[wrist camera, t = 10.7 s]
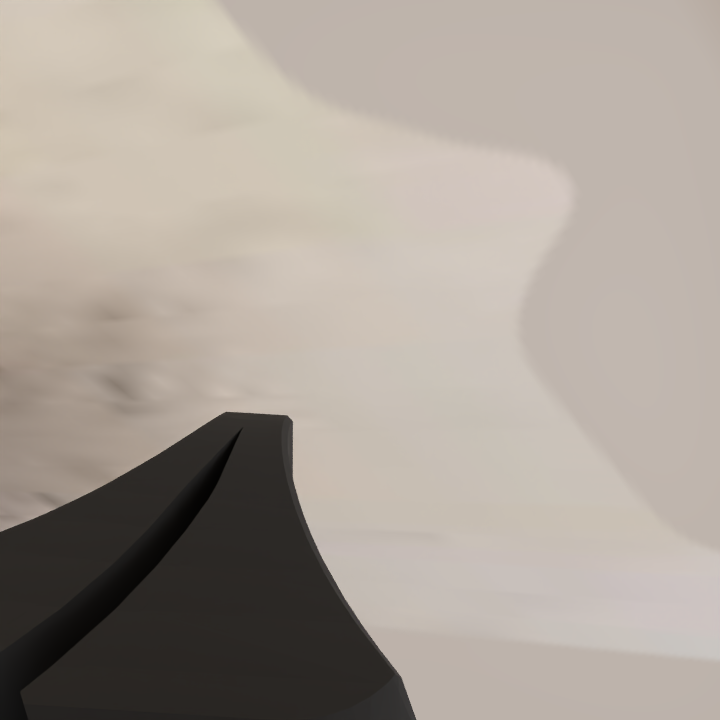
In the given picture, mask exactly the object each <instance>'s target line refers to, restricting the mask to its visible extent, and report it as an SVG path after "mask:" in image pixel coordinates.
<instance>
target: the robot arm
mask: <svg viewBox="0 0 720 720" xmlns="http://www.w3.org/2000/svg"><path fill="white" fill-rule="evenodd" d="M0 720H416V718H415V715H414V712H413V710H412V706H411V704H410V701H409V698H408V695H407V692H406V690H405V687H404V684H403V681H402V678H401V676H400V675H399V674H398V673H397V671H396V670H395V669H394V667H393V666H392V665H391V664H390V662H389V661H388V659H387V658H386V657H385V656H384V655H383V653H382V652H381V651H380V649H379V648H378V646H377V645H376V644H375V642H374V641H373V640H372V638H371V637H370V636H369V634H368V633H367V631H366V630H365V629H364V627H363V626H362V624H361V623H360V621H359V620H358V618H357V617H356V615H355V614H354V612H353V611H352V609H351V607H350V606H349V604H348V603H347V601H346V600H345V598H344V597H343V595H342V593H341V591H340V589H339V588H338V586H337V584H336V582H335V581H334V579H333V577H332V575H331V573H330V572H329V570H328V568H327V566H326V564H325V563H324V561H323V559H322V557H321V555H320V553H319V551H318V549H317V546H316V544H315V542H314V540H313V538H312V535H311V533H310V530H309V528H308V525H307V523H306V520H305V518H304V515H303V512H302V509H301V506H300V503H299V500H298V496H297V493H296V489H295V486H294V482H293V421H292V420H291V419H290V418H289V417H288V416H287V415H271V414H254V413H237V412H225V413H223V414H221V415H219V416H218V417H216V418H214V419H213V420H211V421H210V422H208V423H206V424H205V425H203V426H202V427H200V428H199V429H197V430H196V431H194V432H193V433H191V434H190V435H188V436H186V437H185V438H183V439H182V440H180V441H179V442H177V443H175V444H174V445H172V446H171V447H169V448H168V449H166V450H164V451H163V452H161V453H160V454H158V455H157V456H155V457H153V458H151V459H150V460H148V461H146V462H144V463H143V464H141V465H139V466H137V467H136V468H134V469H132V470H131V471H129V472H127V473H125V474H124V475H122V476H120V477H118V478H117V479H115V480H113V481H111V482H110V483H108V484H106V485H104V486H102V487H100V488H98V489H96V490H94V491H92V492H90V493H88V494H86V495H84V496H82V497H80V498H78V499H76V500H74V501H72V502H70V503H68V504H65V505H63V506H61V507H59V508H57V509H55V510H53V511H50V512H48V513H46V514H44V515H41V516H39V517H37V518H35V519H32V520H30V521H27V522H25V523H22V524H19V525H17V526H14V527H12V528H9V529H7V530H4V531H2V532H0Z"/></svg>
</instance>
